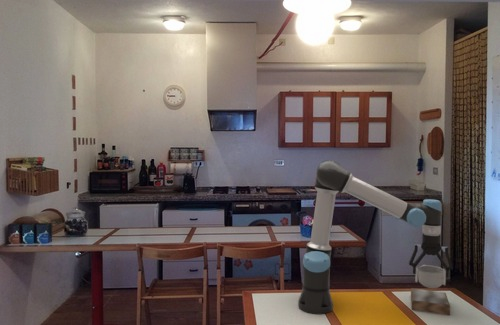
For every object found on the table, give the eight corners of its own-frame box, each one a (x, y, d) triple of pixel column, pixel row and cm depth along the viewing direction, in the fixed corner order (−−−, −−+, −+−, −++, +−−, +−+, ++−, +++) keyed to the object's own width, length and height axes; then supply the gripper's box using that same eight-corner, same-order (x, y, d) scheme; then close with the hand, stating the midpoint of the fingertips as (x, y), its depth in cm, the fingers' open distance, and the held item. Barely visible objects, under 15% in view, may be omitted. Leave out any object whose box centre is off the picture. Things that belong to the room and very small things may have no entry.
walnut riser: (411, 309, 180) (412, 300, 180) (410, 296, 196) (410, 287, 196) (449, 315, 175) (450, 305, 175) (445, 301, 191) (445, 292, 191)
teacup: (446, 291, 177) (447, 272, 177) (419, 289, 179) (420, 270, 179) (438, 280, 191) (439, 263, 190) (413, 279, 193) (414, 262, 193)
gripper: (403, 233, 184) (402, 282, 185) (461, 238, 177) (460, 288, 177) (403, 230, 191) (402, 277, 192) (459, 234, 184) (457, 283, 184)
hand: (430, 282), depth 185 cm, fingers closed on teacup, 11 cm apart
